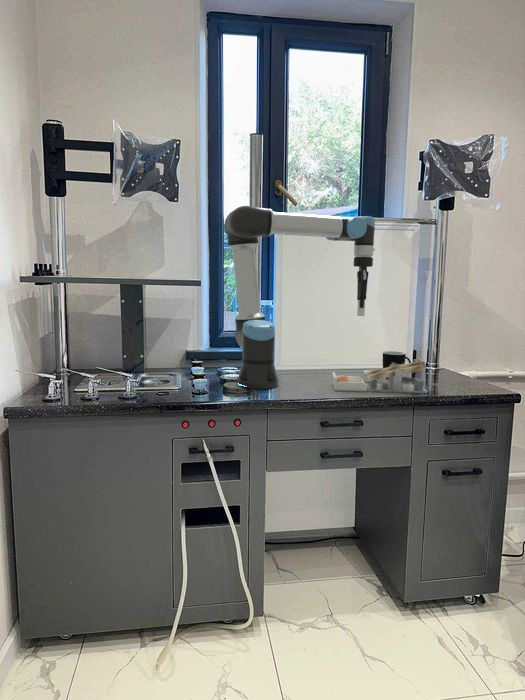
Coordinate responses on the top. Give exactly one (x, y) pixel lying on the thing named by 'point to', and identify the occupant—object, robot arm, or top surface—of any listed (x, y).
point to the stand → (397, 385)
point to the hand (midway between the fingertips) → (360, 315)
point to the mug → (394, 358)
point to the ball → (342, 378)
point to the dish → (349, 384)
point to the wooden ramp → (390, 371)
